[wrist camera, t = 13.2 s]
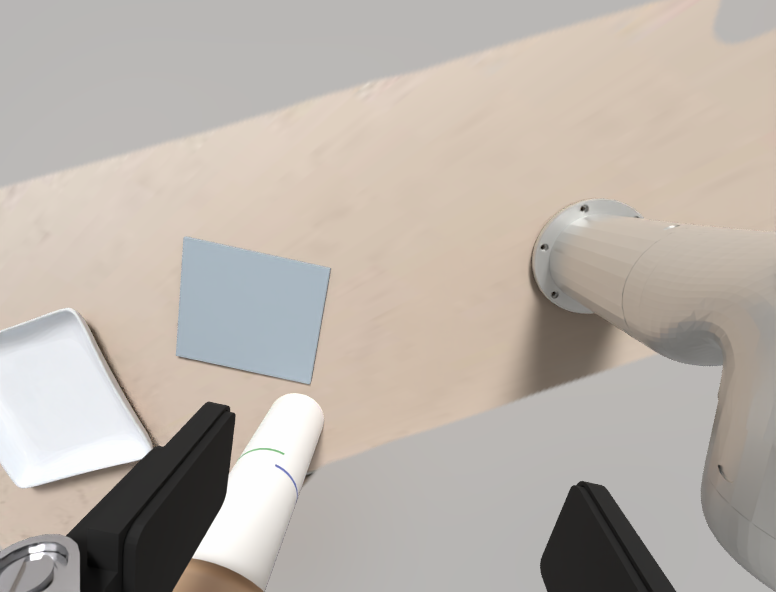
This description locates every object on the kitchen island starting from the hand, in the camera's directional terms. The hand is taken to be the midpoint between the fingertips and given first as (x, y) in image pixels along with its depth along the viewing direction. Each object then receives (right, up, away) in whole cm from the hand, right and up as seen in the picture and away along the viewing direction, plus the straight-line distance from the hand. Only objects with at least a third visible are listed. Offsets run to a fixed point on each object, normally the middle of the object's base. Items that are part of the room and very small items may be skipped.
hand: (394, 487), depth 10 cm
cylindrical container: (-12, -11, +39) cm, 42 cm away
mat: (-17, +3, +36) cm, 39 cm away
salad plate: (-43, -8, +40) cm, 60 cm away
